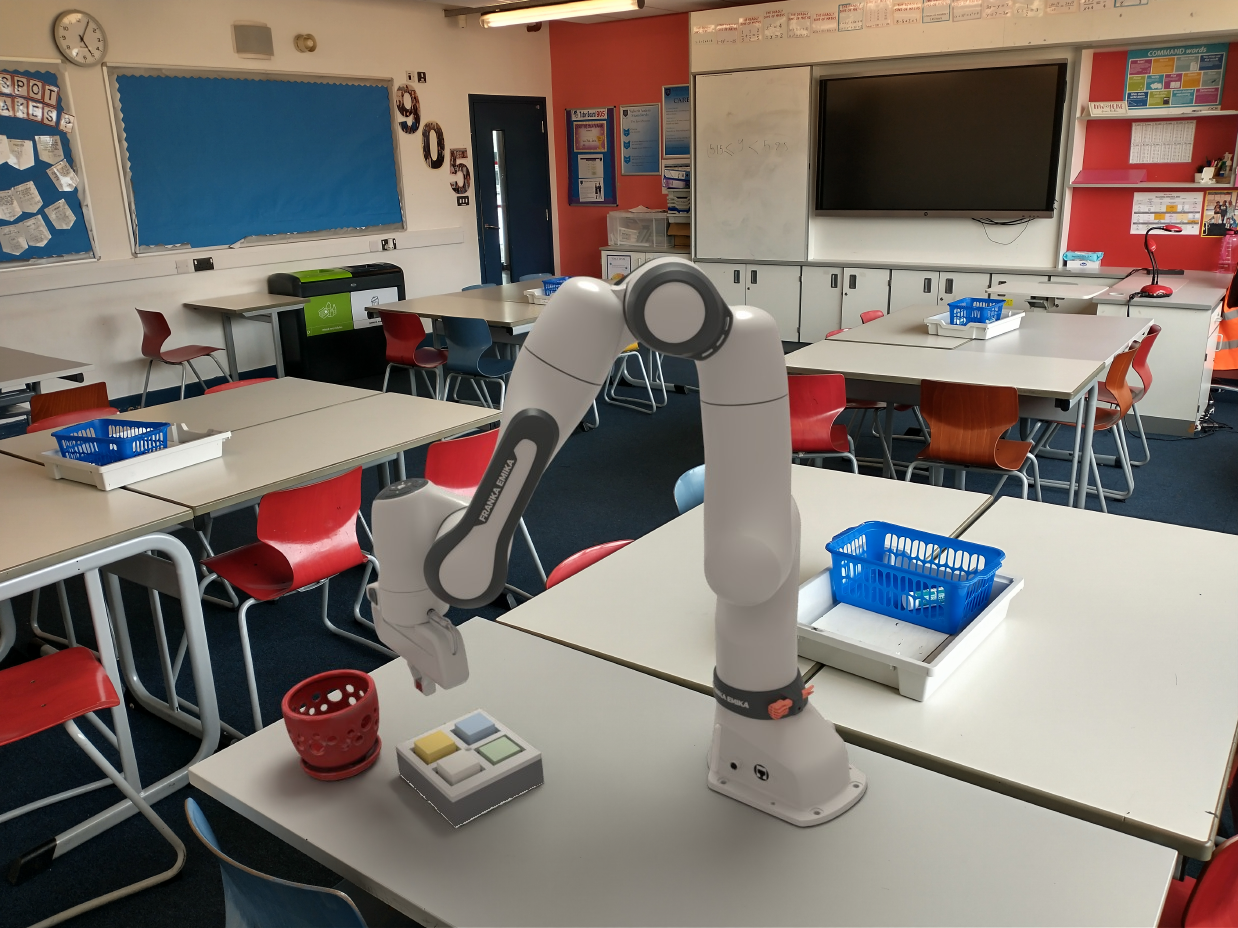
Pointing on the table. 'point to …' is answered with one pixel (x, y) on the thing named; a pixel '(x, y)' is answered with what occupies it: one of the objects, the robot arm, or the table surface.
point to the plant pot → (334, 724)
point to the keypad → (481, 787)
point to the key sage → (499, 751)
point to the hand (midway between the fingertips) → (425, 690)
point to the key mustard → (434, 747)
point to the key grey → (457, 767)
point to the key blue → (474, 729)
